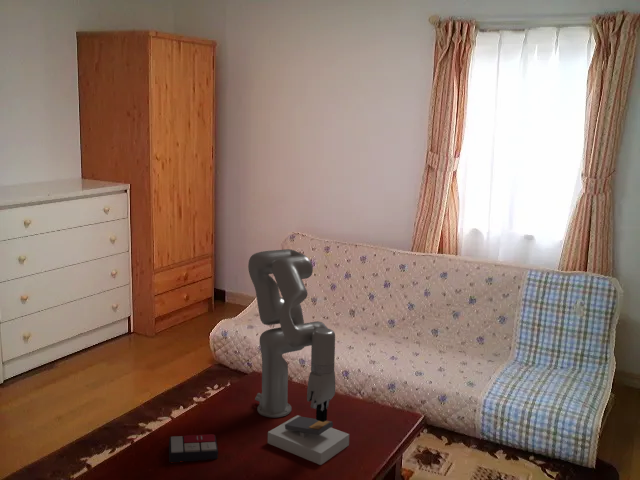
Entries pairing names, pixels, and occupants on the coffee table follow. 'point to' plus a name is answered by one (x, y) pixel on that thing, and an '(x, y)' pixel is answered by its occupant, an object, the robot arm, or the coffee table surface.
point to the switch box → (309, 442)
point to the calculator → (192, 448)
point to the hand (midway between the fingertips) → (321, 420)
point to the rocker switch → (308, 425)
